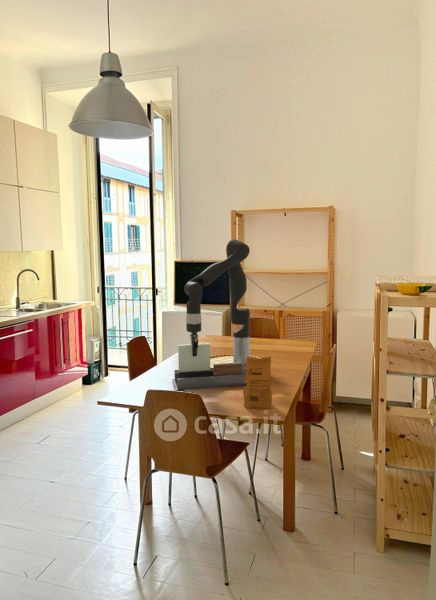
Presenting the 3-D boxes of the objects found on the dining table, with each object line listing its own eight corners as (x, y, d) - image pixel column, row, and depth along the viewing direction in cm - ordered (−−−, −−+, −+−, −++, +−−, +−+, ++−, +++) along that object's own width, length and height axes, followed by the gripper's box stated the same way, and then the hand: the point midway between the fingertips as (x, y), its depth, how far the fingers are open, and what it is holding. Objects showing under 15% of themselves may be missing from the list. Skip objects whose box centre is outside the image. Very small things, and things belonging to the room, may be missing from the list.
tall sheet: (178, 379, 242) (178, 344, 240) (210, 377, 245) (209, 343, 243) (179, 380, 241) (178, 345, 238) (210, 378, 244) (210, 343, 241)
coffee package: (243, 401, 215) (243, 353, 212) (271, 401, 215) (271, 353, 212) (243, 409, 206) (242, 359, 203) (272, 409, 205) (272, 359, 202)
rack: (172, 381, 245) (172, 369, 244) (244, 377, 252) (244, 365, 251) (175, 393, 227) (175, 380, 226) (253, 388, 233) (253, 375, 232)
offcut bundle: (213, 381, 240) (213, 363, 239) (240, 379, 243) (240, 362, 241) (215, 384, 234) (215, 367, 233) (243, 383, 237) (243, 365, 236)
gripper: (184, 319, 245) (185, 352, 247) (187, 324, 232) (188, 359, 234) (199, 319, 246) (199, 352, 249) (203, 324, 233) (203, 358, 235)
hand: (194, 355), depth 241 cm, fingers closed on tall sheet, 1 cm apart
